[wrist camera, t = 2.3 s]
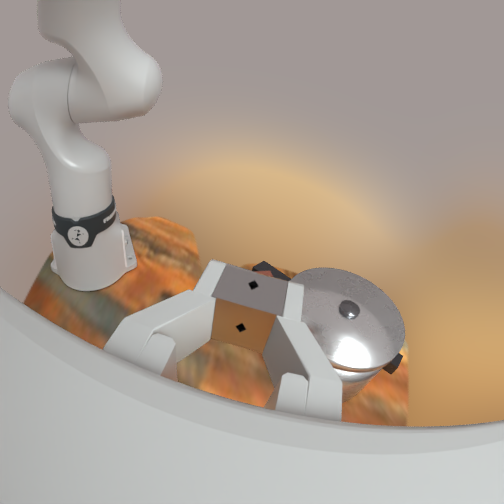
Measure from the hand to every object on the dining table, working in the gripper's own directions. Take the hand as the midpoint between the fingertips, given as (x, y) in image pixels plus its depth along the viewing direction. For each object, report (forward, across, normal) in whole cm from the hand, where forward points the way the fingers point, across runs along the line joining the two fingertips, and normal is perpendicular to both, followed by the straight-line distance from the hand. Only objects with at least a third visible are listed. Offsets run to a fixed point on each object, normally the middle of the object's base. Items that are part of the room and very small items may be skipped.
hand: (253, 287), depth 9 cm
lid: (+20, -10, +20) cm, 30 cm away
